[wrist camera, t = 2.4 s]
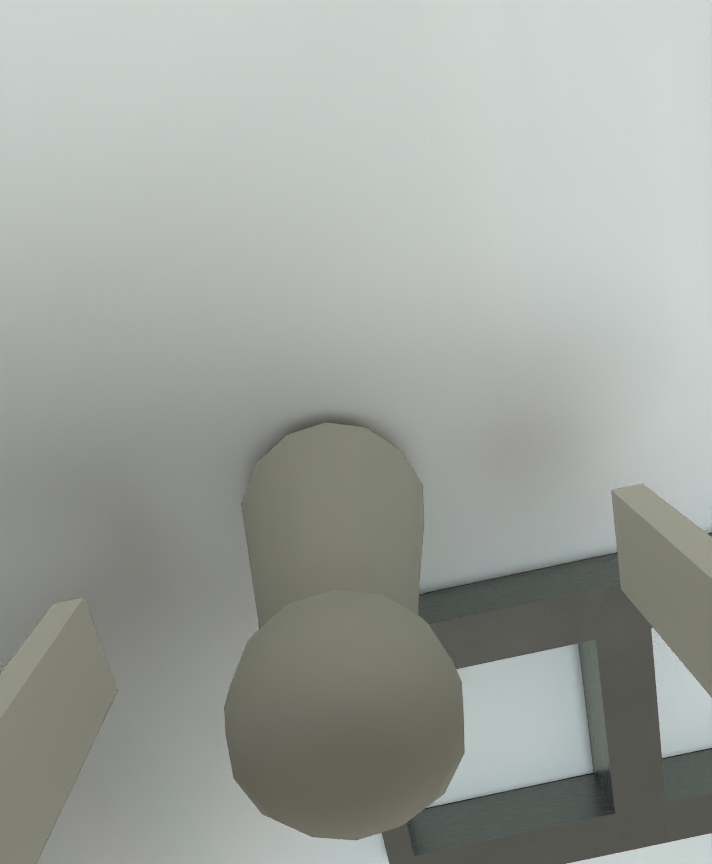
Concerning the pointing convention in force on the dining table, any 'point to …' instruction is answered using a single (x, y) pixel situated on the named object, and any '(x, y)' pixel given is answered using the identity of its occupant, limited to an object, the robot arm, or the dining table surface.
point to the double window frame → (607, 719)
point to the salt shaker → (340, 643)
